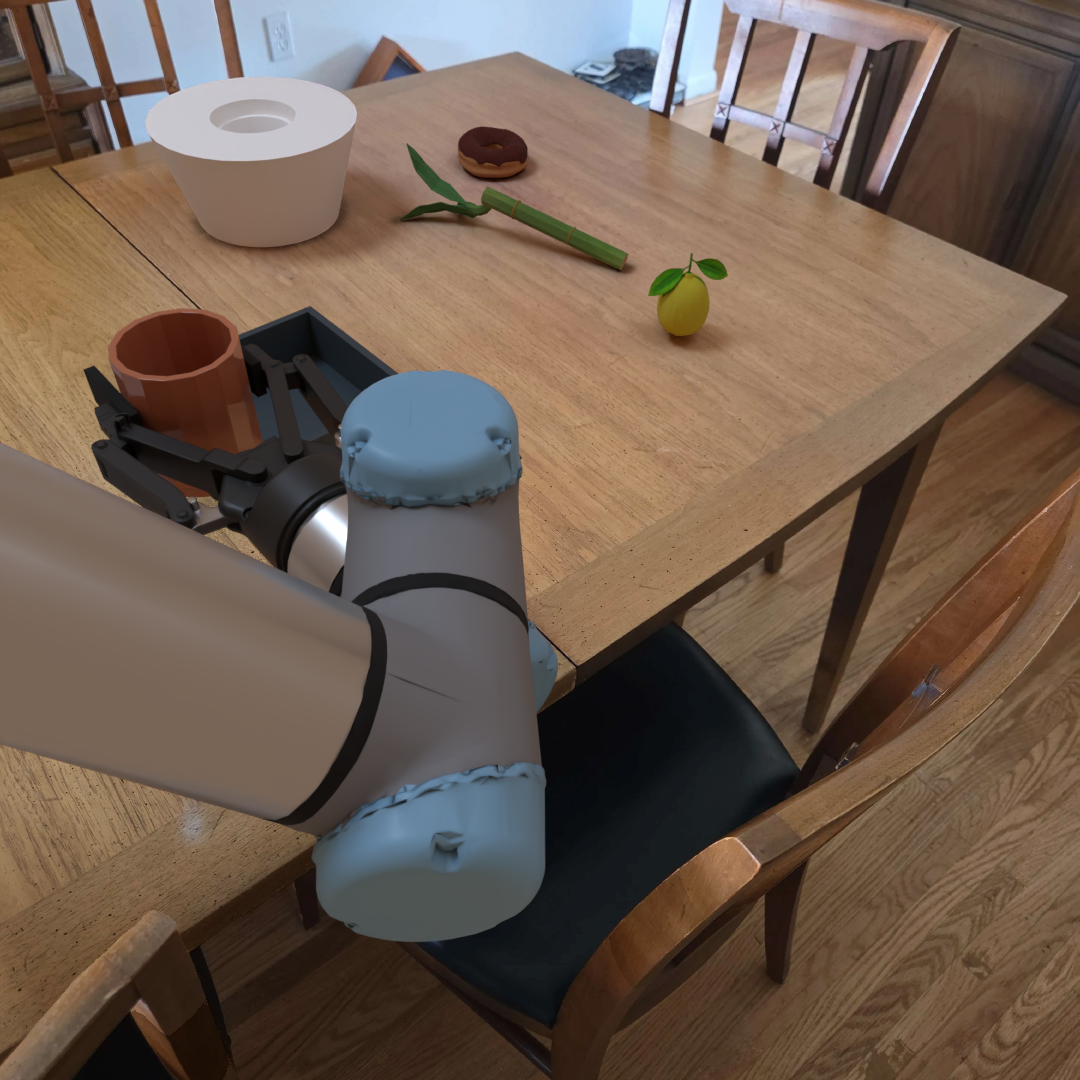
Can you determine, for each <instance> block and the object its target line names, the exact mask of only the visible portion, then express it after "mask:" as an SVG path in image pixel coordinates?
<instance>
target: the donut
mask: <svg viewBox="0 0 1080 1080" xmlns="http://www.w3.org/2000/svg"><path fill="white" fill-rule="evenodd" d="M528 151H529V149H528V145H527V144H526V142H525V139H523V138H522V136H520V135H519V134H518V133H516V132H514V131H512V130H510V129H508V128H499V127H493V126H476V127H472V128H470V129H469V130H467V131H466V132H464V133H463V134H462V135H461V136H460V137H459V139H458V142H457V159H458V163H459V165H461V167H462V168H464V169H465V170H466V171H467V172H469V173H470V174H472V175H473V176H475V177H478V178H485V179H503V178H508V177H512V176H514V175H517V174H518V173H519V172H521V171H522V170H524V169H526V167H527V166H528V165H529V162H530V161H529V156H528V155H529V154H528V153H529V152H528Z"/></svg>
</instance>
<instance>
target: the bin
mask: <svg viewBox="0 0 1080 1080" xmlns="http://www.w3.org/2000/svg"><path fill="white" fill-rule="evenodd" d="M238 335H239V340H240V344H241V345H242V346H246V345H249V344H254V345H257V346H258V347H259V348H261V350H263V351H264V352H265V353H266V354H267V355H269V356H270V357H271V358H272V359H273V360H279V361H281V362H282V363H290V362H293V358H294V357H295V356H296V355H300V354H305V355H308V356H309V357H310V358H311V359H312V361H313V362H314V363H315V364H316V366H317V367H318V368H319V370H320V371H321V372H322V374H323V375H324V376H325V378H326V379H327V380H328V382H329V383H330V384H331V385H332V387H333V388H334V389H335V391H336V392H337V393H338V395H339V396H340V397H341V399H342V400H343V401H344V403H345V404H346V405H347V406H348V407H349V406H350V404H351V403H352V401H353V400H354V399H355V398H356V397H357V396H358V395H359V394H360V393H361V392H362V391H364V390H365V389H367V388H368V387H370V386H371V385H373V384H374V383H376V382H378V381H380V380H382V379H384V378H387V377H390V376H393V375H396V374H399V373H400V372H398V371H396V370H395V369H394V368H392V367H391V366H390V365H388V364H387V363H386V362H384V361H383V360H382V359H381V358H379V357H378V356H376V355H375V354H374V353H372V352H371V351H370V350H369V349H368V348H367V347H365V346H363V345H362V344H361V343H360V342H358V340H355V339H354V338H353V337H352V336H351V335H349V334H348V333H346V332H345V331H344V330H342V329H341V328H340V327H339V326H337V325H336V323H335V324H334V322H332V321H331V320H330V319H328V318H327V317H325V316H324V314H322V313H320V312H319V311H318V310H316V308H314V307H313V306H311V305H308V306H306V307H304V308H302V309H301V308H300V309H299V310H297V311H294V312H292V313H289V314H287V315H284V316H282V317H279V318H277V319H273V320H271V321H269V322H267V323H264V324H262V325H260V326H259V325H258V326H257V327H254V328H252V329H250V330H247V331H244V332H242V333H240V334H239V333H238ZM266 389H267V394H265V395H263V396H260V397H257V396H256V395H255V394H254V393H252V396H253V401H254V405H255V410H256V414H257V418H258V423H259V427H260V431H261V436H262V440H263V441H265V440H267V439H269V438H271V437H273V436H275V437H276V438H280V436H279V432H278V427H277V422H276V418H275V413H274V409H273V404H272V400H271V395H270V390H269V389H268V388H267V387H266ZM289 393H290V397H291V401H292V405H293V410H294V414H295V417H296V421H297V425H298V429H299V433H300V437H301V440H307V441H313V442H319V443H325V444H330V445H335V446H336V443H335V440H334V439H333V438H332V436H331V435H330V433H329V432H328V431H327V429H326V428H325V426H324V425H323V424H322V422H321V421H320V420H319V418H318V417H317V415H316V414H315V413H314V411H313V410H312V408H311V407H310V406H309V404H308V403H307V401H306V400H305V399H304V397H303V396H302V395H301V393H300V392H299V390H298V389H293V390H289Z"/></svg>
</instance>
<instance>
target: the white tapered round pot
mask: <svg viewBox="0 0 1080 1080" xmlns="http://www.w3.org/2000/svg"><path fill="white" fill-rule="evenodd" d="M357 118H358V111H357V108H356V105H355V104H354V103H353V101H351V99H350V98H349V97H347V96H346V95H345V94H344V93H342V92H340V91H338V90H336V89H334V88H332V87H329V86H327V85H324V84H320V83H317V82H314V81H309V80H304V79H298V78H289V77H281V76H245V77H244V76H243V77H242V76H241V77H233V78H225V79H218V80H212V81H208V82H203V83H199V84H196V85H193V86H189V87H186V88H183V89H181V90H178V91H176V92H174V93H171V94H169V95H168V96H166V97H164V98H162V99H161V100H159V101H158V102H156V103H155V104H154V105H153V106H152V107H151V108H150V109H149V111H148V113H147V114H146V116H145V119H144V127H145V130H146V132H147V134H148V137H149V138H150V140H151V141H152V143H153V145H154V147H155V148H156V150H157V152H158V153H159V156H160V157H161V159H162V161H163V162H164V164H165V166H166V168H167V169H168V171H169V173H170V174H171V176H172V178H173V179H174V181H175V183H176V185H177V186H178V188H179V190H180V191H181V193H182V195H183V198H184V199H185V200H186V202H187V203H188V206H189V207H190V209H191V210H192V212H193V214H194V216H195V218H196V219H197V221H198V223H199V225H200V226H201V228H202V229H203V230H204V231H205V232H206V233H207V234H208V235H209V236H211V237H213V238H214V239H216V240H219V241H221V242H223V243H226V244H231V245H234V246H240V247H249V248H274V247H275V248H276V247H283V246H289V245H295V244H300V243H301V242H306V241H309V240H311V239H313V238H315V237H318V236H320V235H322V234H323V233H324V232H326V231H328V230H329V229H330V228H331V227H332V226H333V225H334V224H335V223H336V222H337V220H338V218H339V216H340V215H339V214H340V211H341V210H340V209H341V205H342V199H343V193H344V189H345V184H346V183H345V182H346V177H347V172H348V166H349V162H350V161H349V160H350V155H351V150H352V146H353V140H354V135H355V128H356V124H357Z"/></svg>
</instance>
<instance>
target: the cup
mask: <svg viewBox="0 0 1080 1080" xmlns="http://www.w3.org/2000/svg"><path fill="white" fill-rule="evenodd" d="M237 327H238V326H236V324H234V323H233V322H232V321H230V320H229V319H228V318H227V317H226V316H224V315H223V314H220V313H217V312H213V311H210V310H207V309H200V308H199V309H198V308H184V307H182V308H173V309H166V310H160V311H159V310H158V311H156V312H153V313H150V314H147V315H144V316H142V317H139V318H136V319H134V320H132V321H131V322H129V323H128V324H126V325H125V326H124V327H122V328H120V329H119V330H117V331H116V333H115V334H114V335H113V338H112V339H111V341H110V343H109V344H108V346H107V352H108V353H107V354H108V362H109V365H110V367H111V370H112V374H113V376H114V379H115V381H116V385H117V387H118V391H119V392H120V393H121V395H122V396H123V397H124V398H125V399H126V400H127V401H128V402H129V403H130V404H131V405H132V406H133V407H134V408H135V409H136V410H137V411H138V412H139V415H140V418H141V420H142V423H143V426H144V428H147V429H150V430H153V431H156V432H158V433H161V434H164V435H167V436H169V437H172V438H175V439H178V440H181V441H183V442H186V443H189V444H192V445H195V446H197V447H200V448H203V449H206V450H208V451H211V450H212V449H213V448H218V449H221V450H224V451H227V452H230V453H232V454H237V453H239V452H241V451H245V450H248V449H252V448H255V447H256V446H258V445H259V444H260V443H262V442H263V440H262V436H261V431H260V427H259V423H258V418H257V414H256V410H255V405H254V401H253V396H252V392H251V388H250V383H249V379H248V375H247V370H246V366H245V362H244V357H243V353H242V348H241V344H240V340H239V331H238V328H237ZM157 474H158V473H157ZM158 475H160V474H158ZM160 476H161V477H163V478H164V479H166V480H167V481H168V482H170V483H171V484H173V485H174V486H176V487H177V488H178V489H179V490H180V491H181V492H182V493H183V494H184V495H185V497H186V498H189V497H196V498H208V497H211V496H210V494H209V493H207V492H206V491H203V490H200V489H198V488H195V487H192V486H190V485H187V484H184V483H182V482H179V481H176V480H174V479H171V478H168V477H166V476H163V475H160Z"/></svg>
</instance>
